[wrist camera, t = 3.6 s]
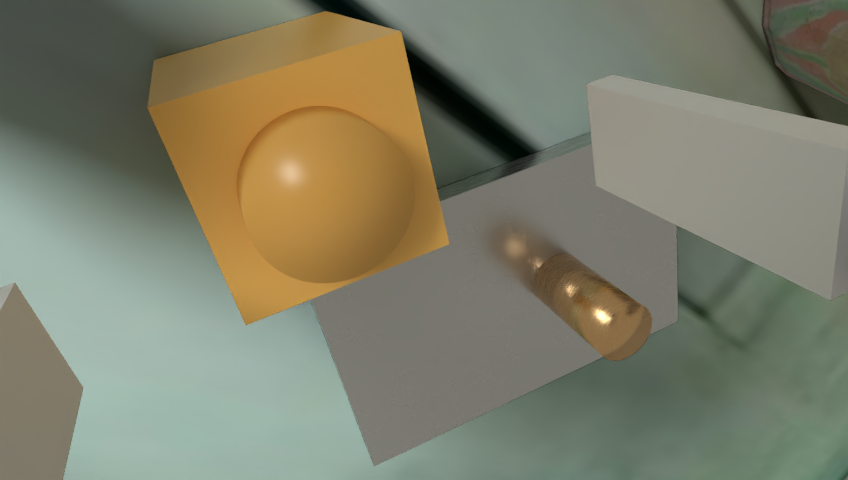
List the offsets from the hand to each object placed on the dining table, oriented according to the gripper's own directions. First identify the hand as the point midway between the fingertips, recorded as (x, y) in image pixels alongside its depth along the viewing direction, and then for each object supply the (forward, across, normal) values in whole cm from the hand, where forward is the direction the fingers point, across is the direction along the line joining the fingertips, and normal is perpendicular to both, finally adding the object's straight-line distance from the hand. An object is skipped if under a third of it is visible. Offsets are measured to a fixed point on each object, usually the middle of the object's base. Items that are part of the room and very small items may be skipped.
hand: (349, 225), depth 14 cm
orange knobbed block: (+10, 0, 0) cm, 10 cm away
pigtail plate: (+10, +8, -10) cm, 17 cm away
